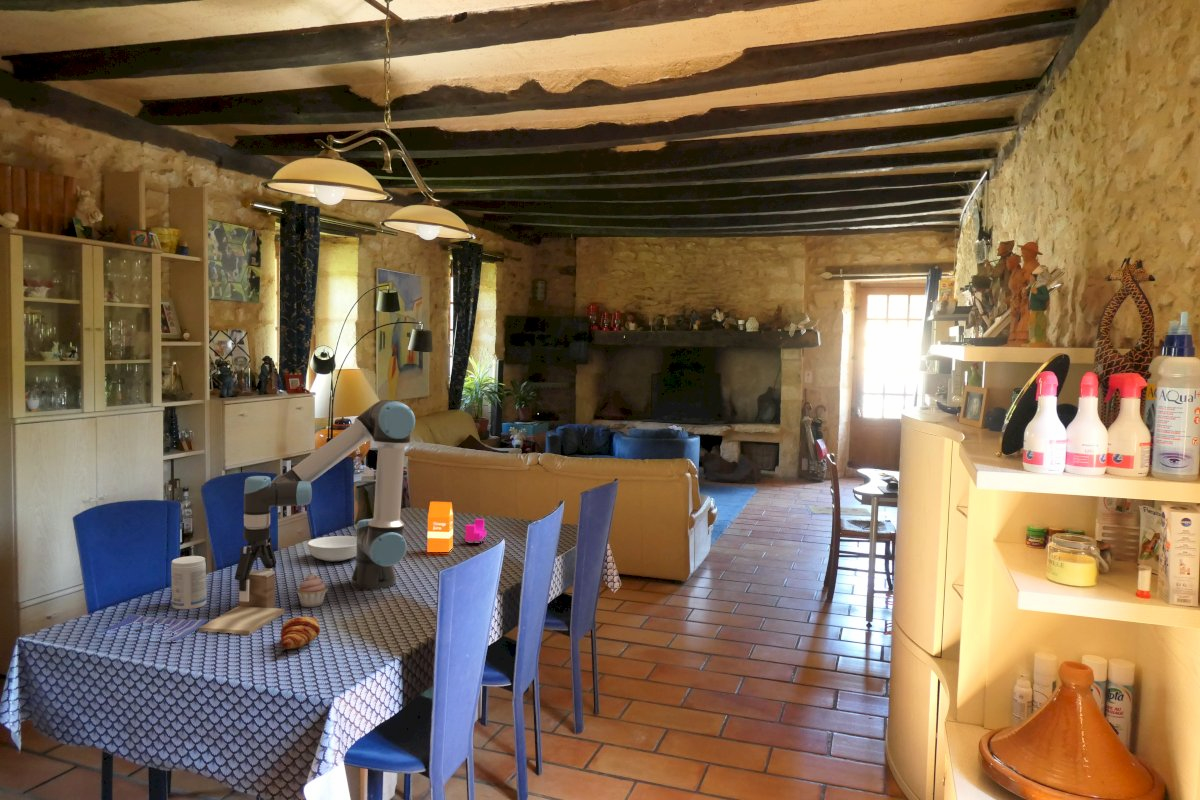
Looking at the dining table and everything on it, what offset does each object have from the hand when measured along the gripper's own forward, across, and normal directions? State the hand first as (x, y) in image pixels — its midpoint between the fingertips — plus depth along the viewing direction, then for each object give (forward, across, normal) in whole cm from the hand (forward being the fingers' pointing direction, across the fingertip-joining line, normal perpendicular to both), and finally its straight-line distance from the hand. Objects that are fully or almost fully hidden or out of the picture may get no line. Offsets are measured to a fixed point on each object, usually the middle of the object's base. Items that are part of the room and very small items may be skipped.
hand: (256, 594), depth 251 cm
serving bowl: (+4, -62, -2) cm, 62 cm away
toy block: (+3, -105, +43) cm, 114 cm away
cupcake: (+4, -6, +15) cm, 17 cm away
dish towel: (+5, +25, -17) cm, 30 cm away
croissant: (+4, +26, +29) cm, 39 cm away
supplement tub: (+5, +2, -21) cm, 21 cm away
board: (+4, +13, +3) cm, 14 cm away
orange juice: (+3, -82, +33) cm, 89 cm away
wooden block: (+4, 0, 0) cm, 4 cm away
